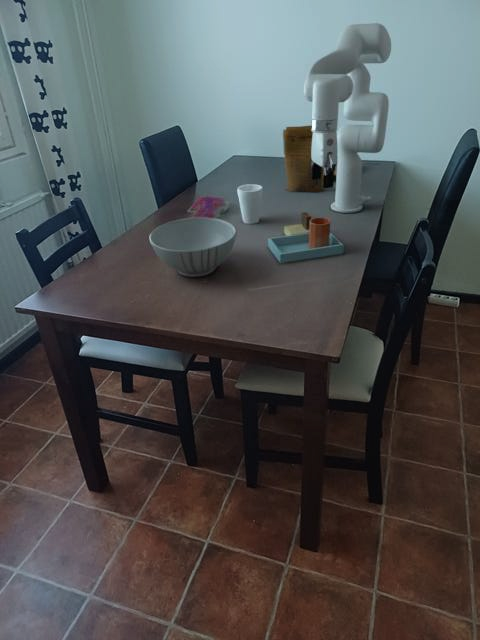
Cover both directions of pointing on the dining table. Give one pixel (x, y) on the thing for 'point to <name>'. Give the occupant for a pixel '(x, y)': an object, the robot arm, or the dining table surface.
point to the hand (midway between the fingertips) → (321, 183)
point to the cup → (319, 232)
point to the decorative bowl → (194, 244)
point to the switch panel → (295, 230)
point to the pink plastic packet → (211, 204)
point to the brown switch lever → (305, 220)
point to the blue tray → (301, 247)
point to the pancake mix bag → (300, 160)
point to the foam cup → (250, 202)
